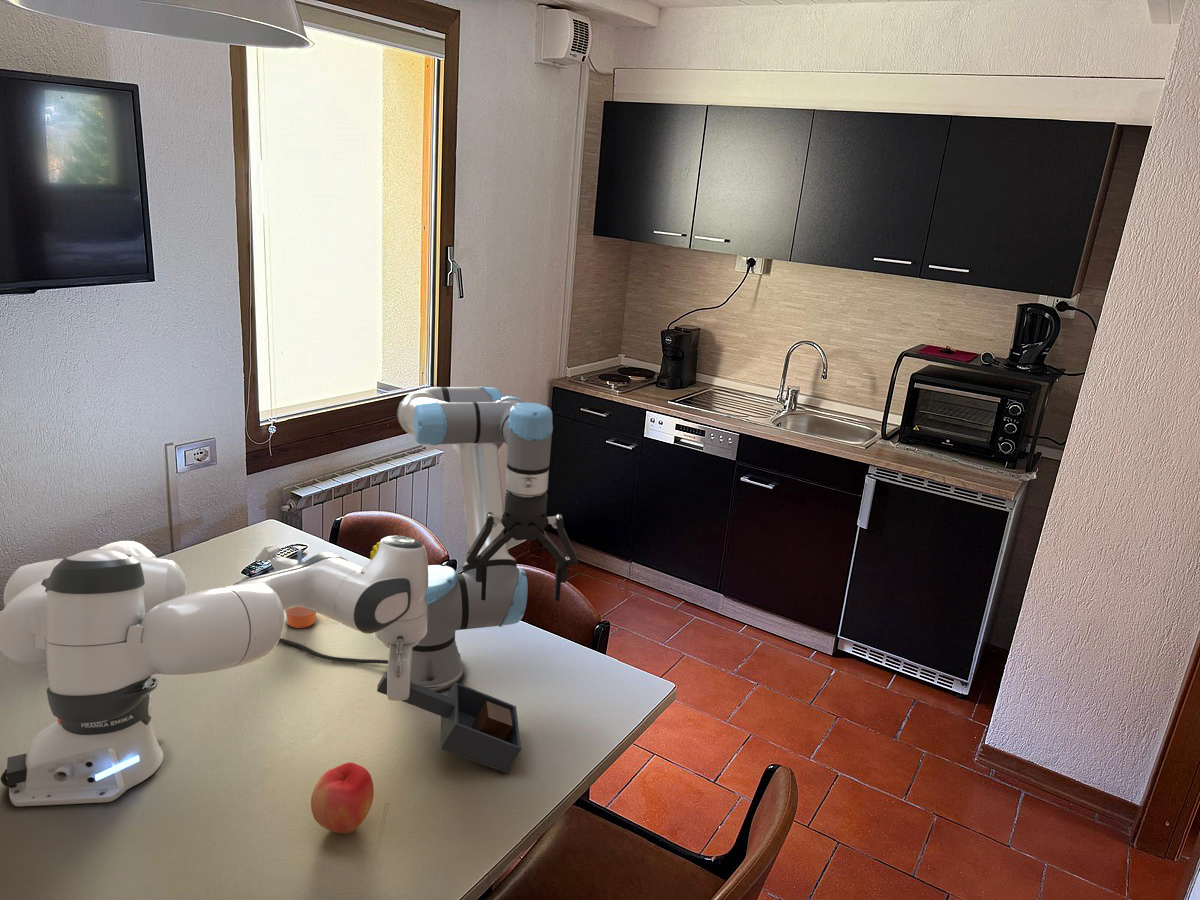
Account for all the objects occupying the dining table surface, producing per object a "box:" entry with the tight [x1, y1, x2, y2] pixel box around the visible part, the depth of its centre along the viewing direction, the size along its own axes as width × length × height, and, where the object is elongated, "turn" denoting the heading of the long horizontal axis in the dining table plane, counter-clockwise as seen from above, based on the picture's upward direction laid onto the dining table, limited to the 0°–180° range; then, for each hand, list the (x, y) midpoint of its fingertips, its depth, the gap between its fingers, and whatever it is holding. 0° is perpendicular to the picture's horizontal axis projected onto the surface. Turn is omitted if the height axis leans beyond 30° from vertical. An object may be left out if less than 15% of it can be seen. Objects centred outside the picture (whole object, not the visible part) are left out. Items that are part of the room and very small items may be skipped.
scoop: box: [376, 671, 522, 774], centre depth 156 cm, size 27×13×6 cm, turn 101°
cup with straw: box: [284, 549, 317, 629], centre depth 196 cm, size 9×9×18 cm
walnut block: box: [471, 701, 512, 740], centre depth 158 cm, size 5×5×6 cm
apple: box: [310, 762, 375, 834], centre depth 137 cm, size 10×10×10 cm
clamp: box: [254, 544, 304, 573], centre depth 219 cm, size 20×4×7 cm, turn 62°
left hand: (400, 692), depth 153 cm, fingers closed on scoop, 2 cm apart
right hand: (520, 597), depth 158 cm, fingers open, 13 cm apart
